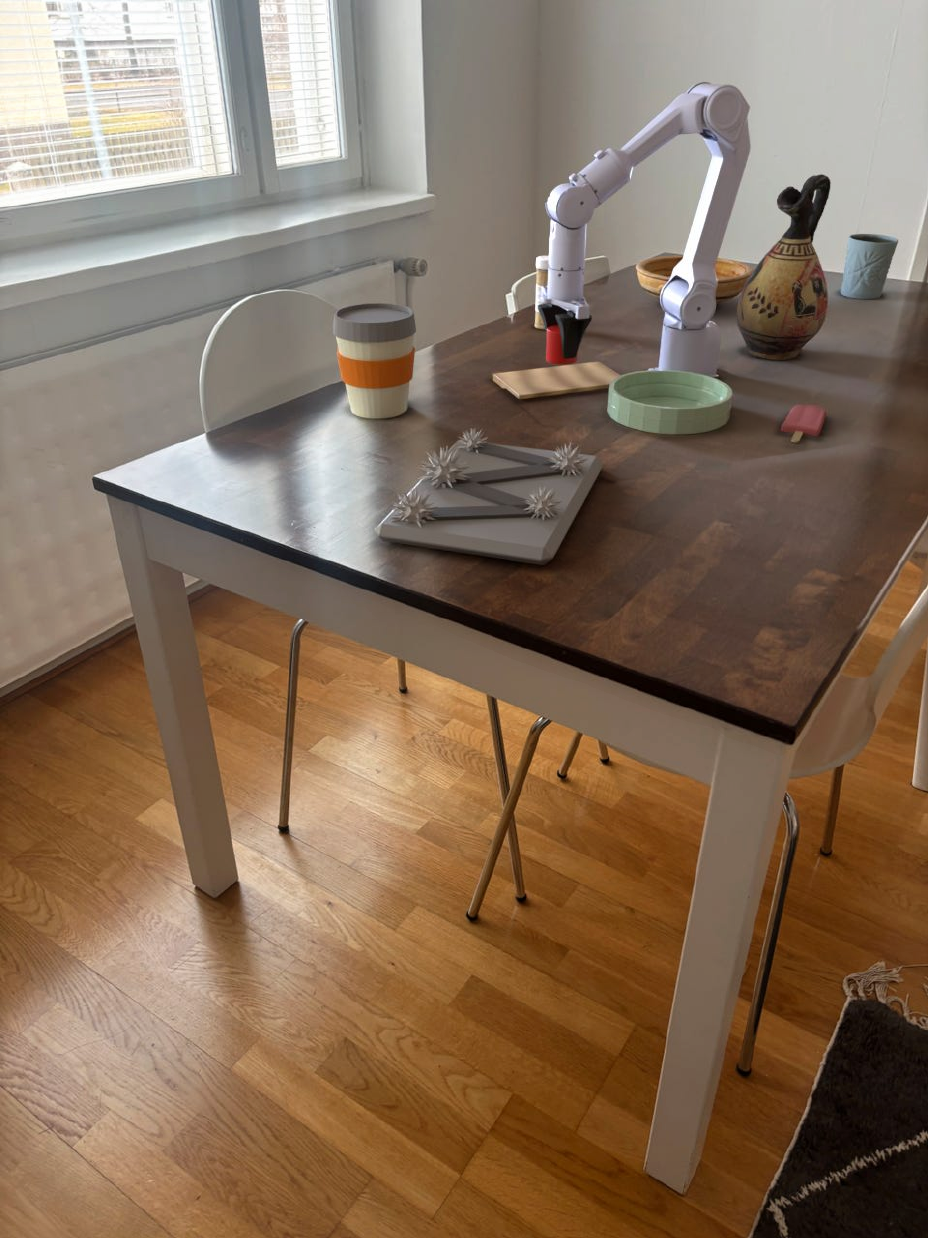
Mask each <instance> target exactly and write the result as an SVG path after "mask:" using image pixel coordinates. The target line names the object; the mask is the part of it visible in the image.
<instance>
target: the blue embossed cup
mask: <svg viewBox="0 0 928 1238" xmlns="http://www.w3.org/2000/svg"><path fill="white" fill-rule="evenodd" d="M898 245H899V239H898V238H896V237H893V236H889V235H885V234H876V233H855V234H850V235H848V240H847V248H846V256H845V260H844V261H845V262H844V267H843V272H842V273H843V274H842V283H841V287H840V294H841V295H842V296H844V297H847V298H850V299H858V300H874V299H879V298H880V297H881V296H882V294H883V290H884V288H885V283H886V279H887V278H888V274H889V270H890V268H891V265H892V263H893V262H892V261H893V257H894V256H895V253H896V250H897V246H898Z"/></svg>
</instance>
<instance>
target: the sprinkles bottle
mask: <svg viewBox="0 0 928 1238" xmlns="http://www.w3.org/2000/svg"><path fill="white" fill-rule="evenodd" d="M535 259H536V260H535V268H536V283H535V307H534V308H535V309H534V310H535V315H534V318H535V319H534V320H535V321H534V327H535V328H536V329H539V330H545V326H544V322H543V319H542V317H541V314H540V312H539V310H538V305H540V304H545V303H543V302H541V301H540V297H541V288H542V287H544V286H548V263H549V255H539V256H537V257H536V258H535ZM545 331H546V330H545Z"/></svg>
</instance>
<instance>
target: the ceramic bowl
mask: <svg viewBox="0 0 928 1238" xmlns="http://www.w3.org/2000/svg"><path fill="white" fill-rule="evenodd" d="M683 256H684V255H671V256H670V255H669V256H668V255H667V256H657V257H652V258H648V259H644V260H641V261H639V262H638V263H637V264H635V265H636V266H635V269H636V271H637V272H636V274H637V275H636V276H637V279H638V282H639V285H640V286H641V288H642V289H643V290H644V292H645V293H647V295H650V296H651V297H653V298H655V299H657V300H659V301H660V294H661V291H662V289H663V287H664V286H665V284H666V283H667V282H668V281H669V279H670V277H671V275H672V271H673V269H674V267H675V266H676V265H677V264H678V263H679V262H680V261H681V260H682V259H683ZM753 270H754V269H753V268H752V267H751V266H749V265H748V264H746V263H743V262H741V261H737V260H733V259H728V258H723V257H718V258H717V261H716V264H715V273H716V277H717V282H718V286H717V289H716V294H715V298H716V305H718V304H721V303H724V302H727V301H728V300H731V299H734V298H736V297H737V296H739V295H741V293H742V290H743V288H744V285H745V283H746V281H747V280H748V278H749V276H750V275H751V273H752V271H753Z"/></svg>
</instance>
